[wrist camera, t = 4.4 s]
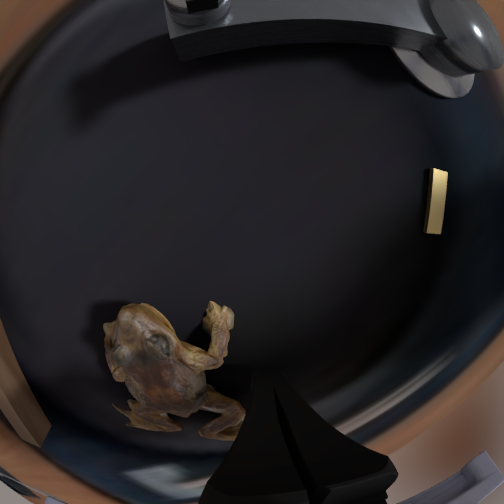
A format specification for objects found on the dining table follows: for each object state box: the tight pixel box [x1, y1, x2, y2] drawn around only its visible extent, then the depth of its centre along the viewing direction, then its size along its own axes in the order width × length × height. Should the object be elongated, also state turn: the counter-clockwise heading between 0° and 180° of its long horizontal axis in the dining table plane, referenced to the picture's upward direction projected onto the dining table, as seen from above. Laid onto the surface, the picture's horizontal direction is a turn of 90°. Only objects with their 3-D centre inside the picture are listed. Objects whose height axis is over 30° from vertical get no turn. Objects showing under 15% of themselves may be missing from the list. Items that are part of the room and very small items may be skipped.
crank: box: [164, 0, 504, 78], centre depth 6 cm, size 14×4×4 cm, turn 103°
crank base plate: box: [388, 46, 474, 99], centre depth 8 cm, size 6×6×1 cm
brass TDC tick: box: [423, 168, 448, 234], centre depth 11 cm, size 1×3×1 cm, turn 178°
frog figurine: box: [103, 301, 245, 441], centre depth 11 cm, size 12×12×4 cm
